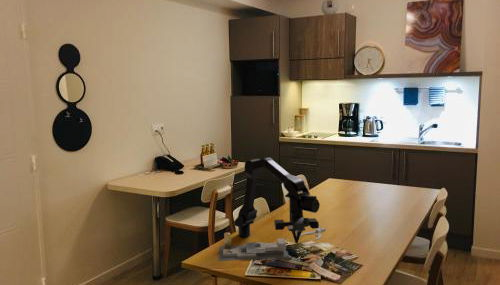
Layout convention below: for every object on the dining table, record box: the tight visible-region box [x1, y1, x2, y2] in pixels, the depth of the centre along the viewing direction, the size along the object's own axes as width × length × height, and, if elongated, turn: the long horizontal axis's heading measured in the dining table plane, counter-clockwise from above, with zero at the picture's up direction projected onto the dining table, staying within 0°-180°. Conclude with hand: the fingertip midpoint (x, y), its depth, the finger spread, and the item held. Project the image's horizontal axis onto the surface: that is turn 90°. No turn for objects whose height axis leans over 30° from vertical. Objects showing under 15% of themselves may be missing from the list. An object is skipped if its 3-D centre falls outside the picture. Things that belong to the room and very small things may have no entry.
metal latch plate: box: [245, 238, 287, 253], centre depth 178 cm, size 8×17×3 cm, turn 93°
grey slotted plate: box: [223, 247, 284, 258], centre depth 178 cm, size 8×26×2 cm, turn 93°
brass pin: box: [223, 231, 232, 249], centre depth 184 cm, size 3×3×7 cm
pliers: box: [300, 226, 326, 241], centre depth 202 cm, size 10×2×15 cm
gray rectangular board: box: [217, 244, 290, 262], centre depth 180 cm, size 16×30×1 cm, turn 93°
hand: (296, 242), depth 178 cm, fingers closed
